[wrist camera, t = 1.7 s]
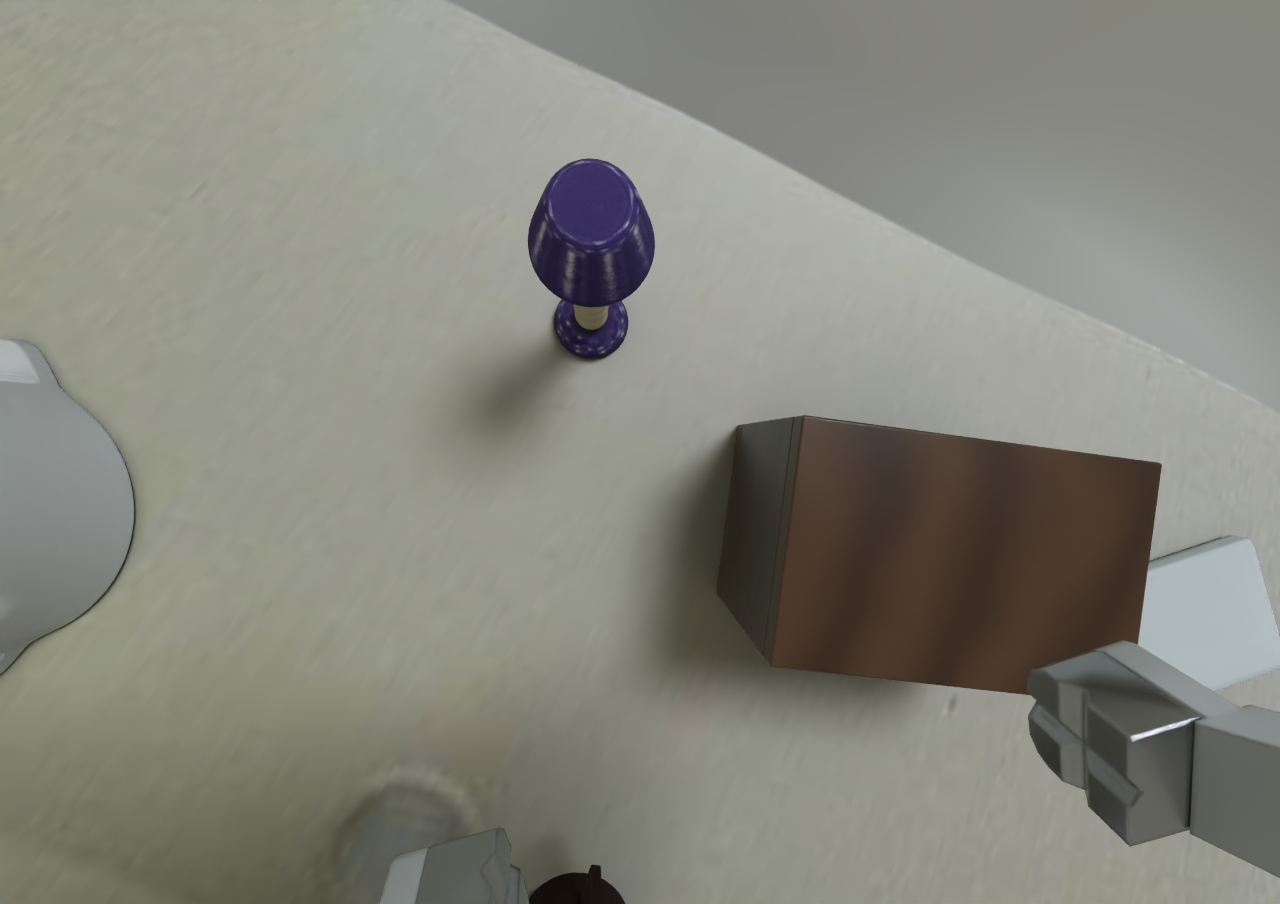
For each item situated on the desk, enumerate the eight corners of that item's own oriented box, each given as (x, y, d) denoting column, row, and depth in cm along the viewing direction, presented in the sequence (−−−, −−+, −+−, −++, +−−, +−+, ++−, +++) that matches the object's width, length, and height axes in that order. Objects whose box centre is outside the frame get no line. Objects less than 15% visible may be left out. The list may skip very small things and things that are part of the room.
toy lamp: (568, 267, 35) (535, 109, 19) (646, 290, 36) (681, 154, 19) (546, 347, 35) (493, 260, 19) (624, 369, 36) (640, 303, 19)
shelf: (715, 593, 36) (770, 667, 24) (737, 424, 36) (803, 414, 24) (960, 622, 37) (1131, 706, 25) (982, 457, 37) (1163, 463, 25)
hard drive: (1260, 659, 38) (1076, 723, 37) (1224, 533, 38) (1039, 595, 37) (1289, 669, 36) (1097, 735, 36) (1252, 537, 36) (1059, 602, 36)
